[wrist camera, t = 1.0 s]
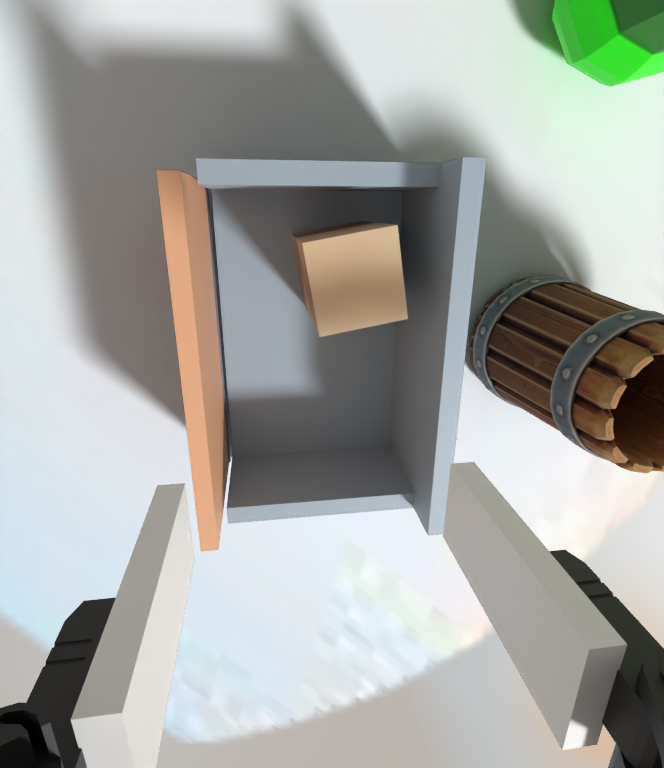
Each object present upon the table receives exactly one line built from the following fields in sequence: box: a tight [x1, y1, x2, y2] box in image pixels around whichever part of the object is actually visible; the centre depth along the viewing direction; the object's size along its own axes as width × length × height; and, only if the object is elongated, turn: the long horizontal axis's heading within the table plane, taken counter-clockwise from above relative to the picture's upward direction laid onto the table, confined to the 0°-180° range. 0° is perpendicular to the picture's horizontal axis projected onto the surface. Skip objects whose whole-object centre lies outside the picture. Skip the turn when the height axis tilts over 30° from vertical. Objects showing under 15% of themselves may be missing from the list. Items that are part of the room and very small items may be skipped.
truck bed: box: [196, 157, 487, 535], centre depth 31 cm, size 22×14×12 cm, turn 0°
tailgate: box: [156, 170, 230, 551], centre depth 29 cm, size 20×1×11 cm, turn 0°
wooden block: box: [291, 221, 408, 337], centre depth 29 cm, size 5×5×9 cm
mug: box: [470, 276, 664, 473], centre depth 33 cm, size 16×11×15 cm
